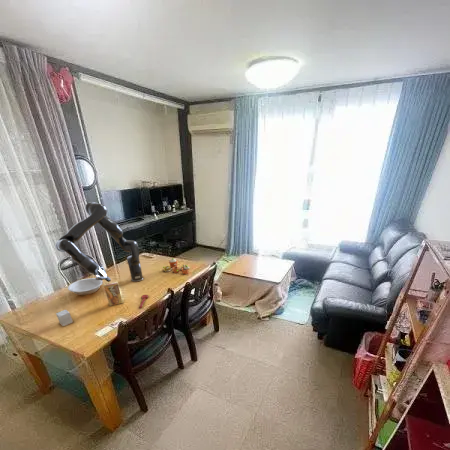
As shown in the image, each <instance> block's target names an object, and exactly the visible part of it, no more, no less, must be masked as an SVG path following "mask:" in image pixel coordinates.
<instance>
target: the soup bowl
mask: <svg viewBox="0 0 450 450" xmlns="http://www.w3.org/2000/svg"><path fill="white" fill-rule="evenodd" d="M95 278H96V277H90V278H83V279H79V280H76V281H74V282H72V283H70V284H69V285H68V286H67V290H68V291H69V292H71V293H73V294H75V295H79V296H87V295H91V294H94V293H96V292H97V291H98V290H99V289H100V288H101V286H102V285H103V284H104V280H96V279H95Z"/></svg>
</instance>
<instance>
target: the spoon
mask: <svg viewBox="0 0 450 450" xmlns="http://www.w3.org/2000/svg"><path fill="white" fill-rule="evenodd" d="M148 298H149V294H142V295H141V299H142V300H141V303H140V305H139V307H138V308H139V309H142V308H143V306H144V303H145V302H146V299H148Z"/></svg>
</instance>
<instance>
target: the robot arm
mask: <svg viewBox="0 0 450 450" xmlns="http://www.w3.org/2000/svg"><path fill="white" fill-rule="evenodd" d="M84 209H85V213H86V214H87V215H88V217H86V218H84V219H82V220H80V221H78V222H77V223H74V225H73V226H72V227H70V229H68V230H67V232H66V233H65V234H64V235H62V236H61V237H60V238H59V239H58V240H56V242H55V249H56V250H57V252H60V253H67V254H68V255H69V256H70V259H71V260H73V261H74V262H75V263H77V264H78V265H79V266H80V267H81V268H82V269H84V270H85V271H87V272H88V273H89V274H92V275H94V278H95V279H96V280H102V281H104V280H105V281H106V282H108V283H110V282H111V279H112V278H111V277H109V276H108V275H107V272H106V269H105V268H104V266H103V265H99V264H98V263H97V262H96V261H95V260H94V259H92V258H91V257H90V256H88V255H87V254H85V253H84V252H83V251H81V250H80V249H79V247H78V246H77V245H76V244H75V243H77V242H78V241H80V239H82V237H83V236H84V235H85V234H86V233H87V232H88V231H89V230H90V229H92V228H93V227H94V226H95V225H96V224H99V226H100V227H101V228H102V229H104V231H105V232H106V233H107V234H108V235H109V236H110V237H111V238H113V240H114V241H115V242H116V243H117V244H118V245H119V247H120V248H121V249H122V250H123V251H124V252H126V253H131V255H129V256H127V257H126V260H127V264H128V269H129V274H130V278H131V281H132V282H134V283H135V282H141V281H143V280H144V275H143V271H142V266H141V261H140V250H139V244H138V241H136V240H132V239H131V240H130V239H129V240H128V239H126V238H125V237H124V231H123V229H122V227H121V226H120V225H119V223H117V222H115V220H113V219H111V218H110V217H108V216H107V213H108V210H107V207H106V206H105V204H103V203H99V202H94V201H89V202H87V203H86V204H85V206H84Z"/></svg>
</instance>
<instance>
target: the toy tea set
mask: <svg viewBox="0 0 450 450" xmlns="http://www.w3.org/2000/svg"><path fill="white" fill-rule="evenodd" d="M168 263H169V265H165V266H163V267H162V268H163V272H165V273H166V272H168V273H169V272H171V271H172V272H173V273H174V274H178V273H179V271H180V270H181V272H182V274H183V275H187V274H189V269H190V266H188V265H187V264H182V265H181V266H178V260H177V259H175V258H174V257H171V259H170V260H169V261H168Z"/></svg>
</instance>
